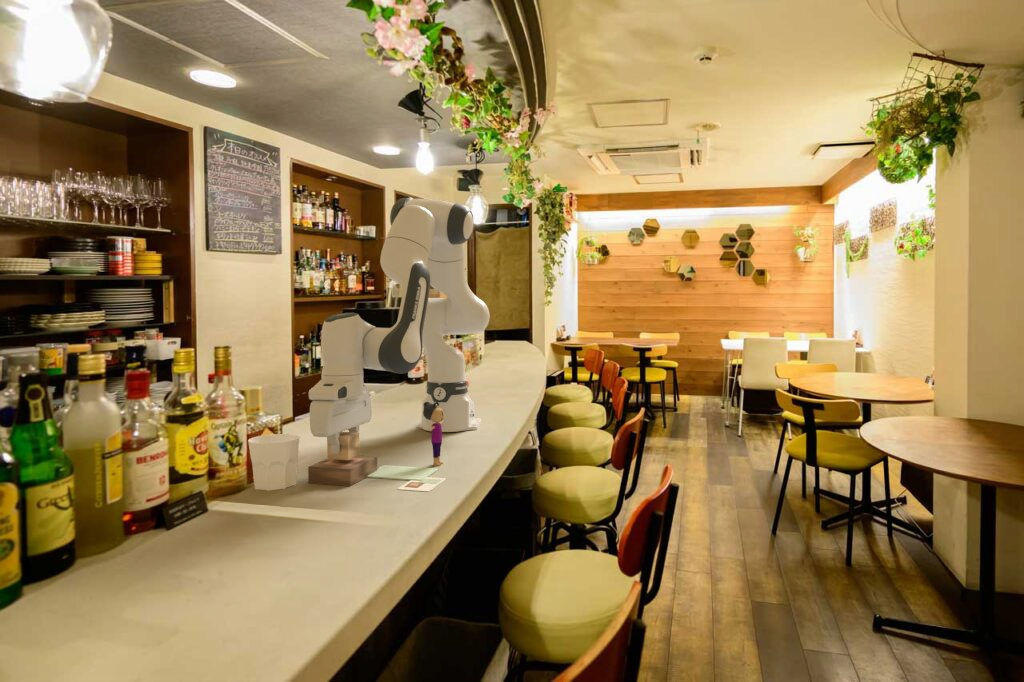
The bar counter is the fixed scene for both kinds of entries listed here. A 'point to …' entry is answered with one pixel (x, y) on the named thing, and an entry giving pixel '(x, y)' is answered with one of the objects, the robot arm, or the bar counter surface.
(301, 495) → the bar counter surface
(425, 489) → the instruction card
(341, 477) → the base brick
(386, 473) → the sage mat
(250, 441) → the cup
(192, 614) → the bar counter surface
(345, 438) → the oak cube
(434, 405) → the toy
